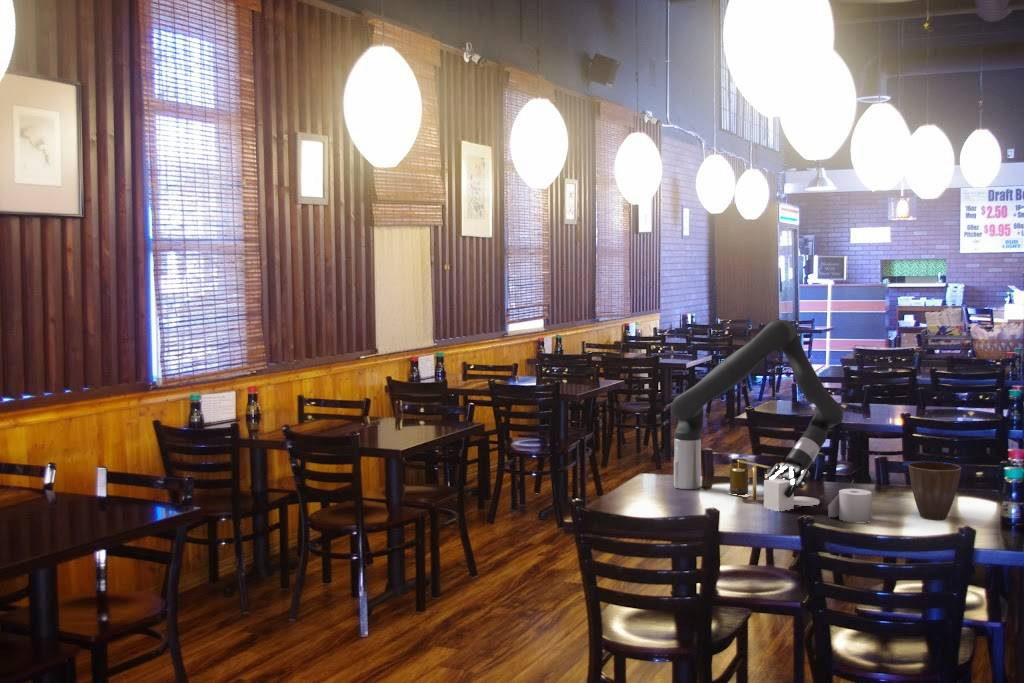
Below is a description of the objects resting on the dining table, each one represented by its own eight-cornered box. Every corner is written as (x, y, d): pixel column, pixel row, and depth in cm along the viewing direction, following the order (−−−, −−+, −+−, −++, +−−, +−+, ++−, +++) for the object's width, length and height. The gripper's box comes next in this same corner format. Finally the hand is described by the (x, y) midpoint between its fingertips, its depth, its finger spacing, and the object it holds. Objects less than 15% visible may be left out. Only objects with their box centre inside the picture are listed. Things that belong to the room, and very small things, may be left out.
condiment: (737, 491, 360) (737, 457, 359) (757, 495, 353) (757, 460, 352) (724, 494, 355) (724, 459, 354) (744, 498, 348) (744, 462, 348)
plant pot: (968, 517, 317) (969, 465, 316) (947, 525, 307) (948, 472, 306) (920, 509, 328) (921, 459, 327) (899, 517, 318) (899, 465, 317)
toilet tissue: (821, 517, 319) (822, 489, 318) (861, 515, 321) (862, 488, 320) (836, 524, 310) (836, 495, 309) (877, 522, 312) (877, 494, 311)
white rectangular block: (778, 511, 327) (778, 483, 326) (763, 508, 332) (764, 480, 332) (793, 509, 330) (793, 481, 330) (778, 505, 336) (778, 478, 335)
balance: (733, 502, 341) (733, 461, 340) (731, 499, 346) (731, 458, 345) (778, 503, 340) (778, 461, 339) (775, 499, 345) (775, 458, 344)
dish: (787, 506, 334) (787, 502, 334) (781, 499, 345) (781, 495, 345) (822, 506, 334) (822, 502, 333) (815, 499, 344) (815, 495, 344)
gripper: (780, 444, 340) (754, 482, 335) (813, 450, 328) (786, 490, 323) (792, 459, 343) (766, 497, 338) (825, 465, 331) (799, 505, 326)
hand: (776, 493), depth 331 cm, fingers open, 8 cm apart
